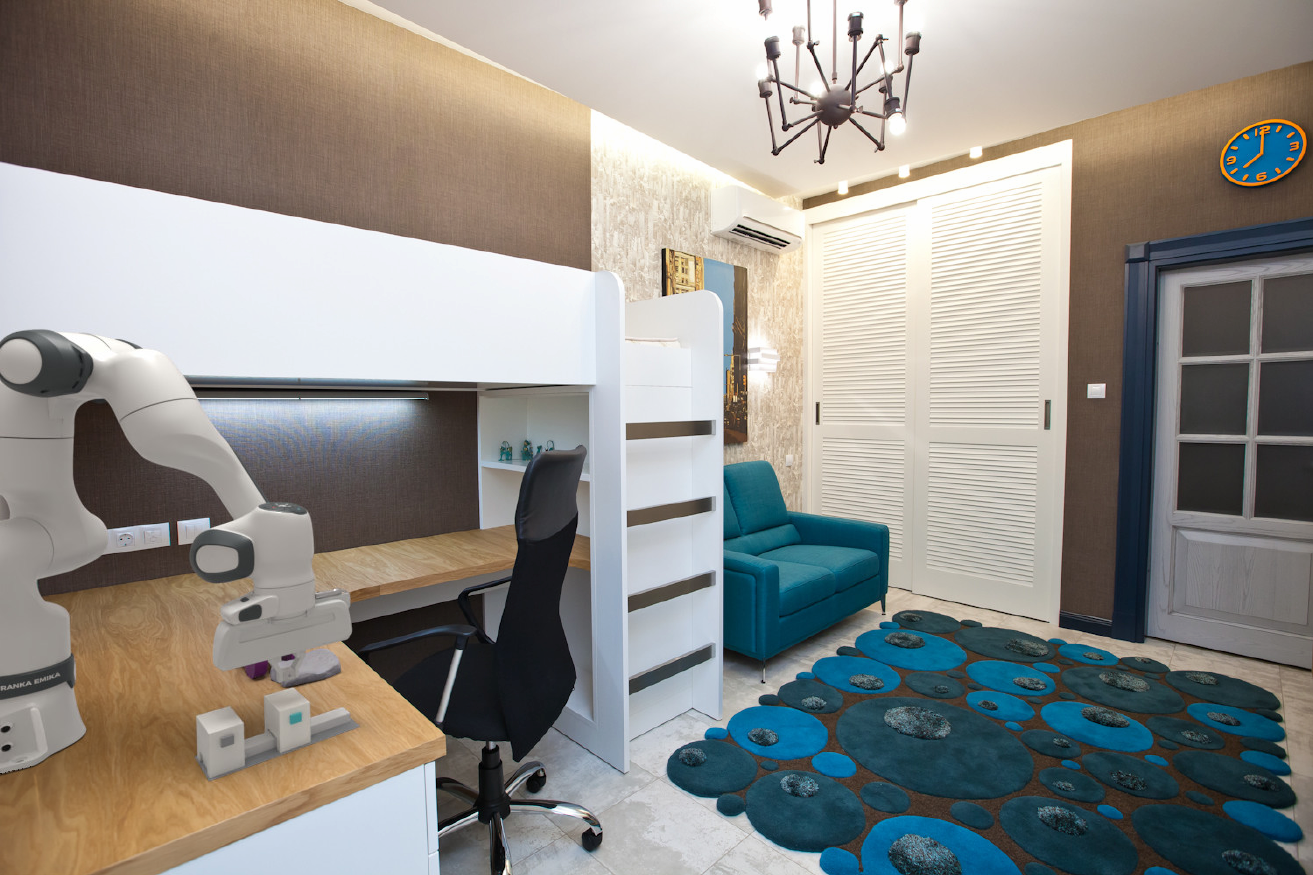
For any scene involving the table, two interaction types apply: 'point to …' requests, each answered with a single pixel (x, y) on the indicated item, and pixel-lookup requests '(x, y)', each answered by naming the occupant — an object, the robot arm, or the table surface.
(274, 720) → the block
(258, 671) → the mounting bracket
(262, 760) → the rail plate
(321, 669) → the stone block
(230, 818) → the table surface
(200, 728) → the white grey-marked block
